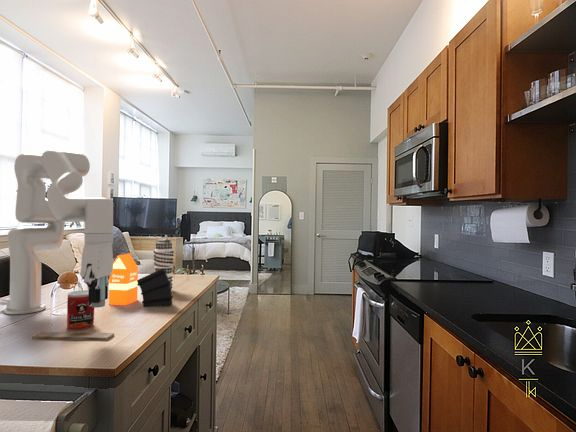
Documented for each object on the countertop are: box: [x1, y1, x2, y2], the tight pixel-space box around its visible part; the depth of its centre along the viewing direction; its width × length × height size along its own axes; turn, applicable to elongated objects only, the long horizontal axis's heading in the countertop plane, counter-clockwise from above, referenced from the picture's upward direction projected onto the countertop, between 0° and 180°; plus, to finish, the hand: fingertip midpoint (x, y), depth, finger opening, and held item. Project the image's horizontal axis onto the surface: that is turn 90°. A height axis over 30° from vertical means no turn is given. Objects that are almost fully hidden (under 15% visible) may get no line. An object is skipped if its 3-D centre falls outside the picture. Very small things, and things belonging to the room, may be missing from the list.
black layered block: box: [137, 268, 174, 308], centre depth 145 cm, size 4×13×15 cm, turn 100°
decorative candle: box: [153, 238, 175, 293], centre depth 172 cm, size 9×9×25 cm
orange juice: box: [108, 253, 139, 306], centre depth 150 cm, size 8×9×20 cm
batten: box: [32, 331, 115, 341], centre depth 107 cm, size 22×4×1 cm, turn 90°
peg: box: [92, 276, 106, 309], centre depth 107 cm, size 4×4×10 cm
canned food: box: [66, 289, 95, 331], centre depth 117 cm, size 8×8×11 cm
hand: (98, 300), depth 107 cm, fingers closed on peg, 3 cm apart
